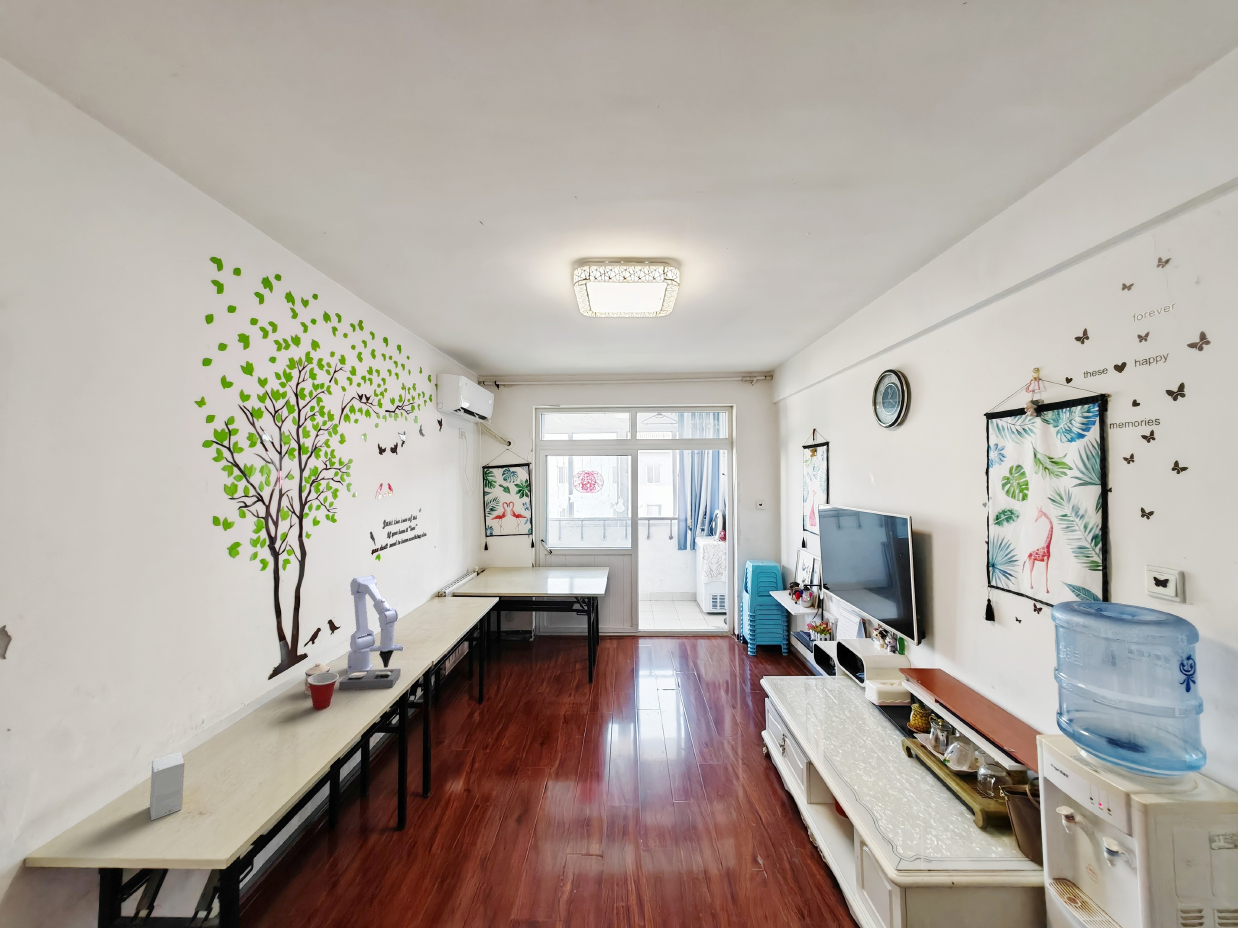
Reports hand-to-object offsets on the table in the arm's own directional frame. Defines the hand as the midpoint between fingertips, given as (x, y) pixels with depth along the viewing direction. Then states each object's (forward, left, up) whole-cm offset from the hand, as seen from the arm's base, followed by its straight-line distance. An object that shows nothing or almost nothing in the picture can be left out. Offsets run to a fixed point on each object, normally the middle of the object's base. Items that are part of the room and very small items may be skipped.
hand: (386, 666), depth 219 cm
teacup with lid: (-24, -9, -6) cm, 26 cm away
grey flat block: (-5, -3, -6) cm, 8 cm away
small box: (-34, -81, -6) cm, 88 cm away
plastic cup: (-17, -24, -6) cm, 30 cm away
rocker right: (0, -3, -2) cm, 4 cm away
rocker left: (-11, -3, -2) cm, 12 cm away
